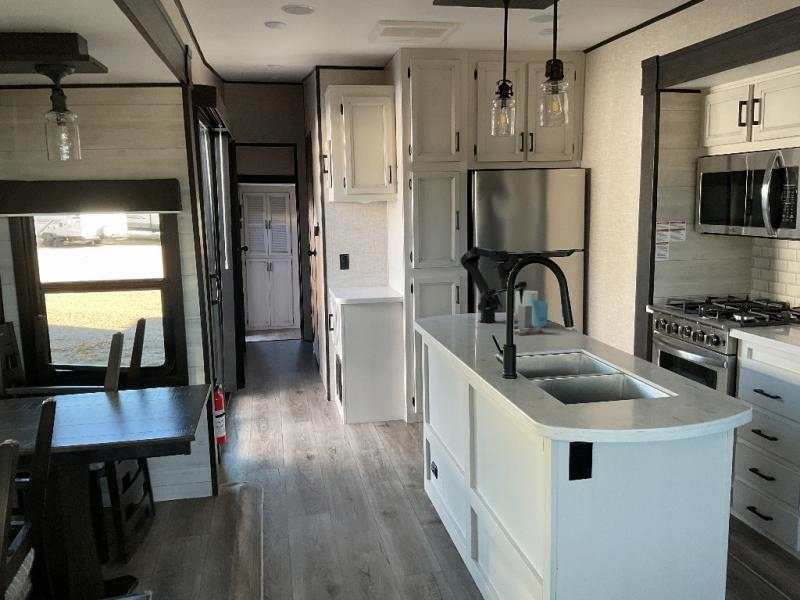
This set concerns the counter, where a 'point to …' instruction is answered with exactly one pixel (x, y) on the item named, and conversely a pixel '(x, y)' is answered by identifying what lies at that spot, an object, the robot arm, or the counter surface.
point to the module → (524, 316)
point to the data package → (539, 313)
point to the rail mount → (527, 330)
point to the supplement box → (524, 299)
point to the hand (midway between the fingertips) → (511, 306)
